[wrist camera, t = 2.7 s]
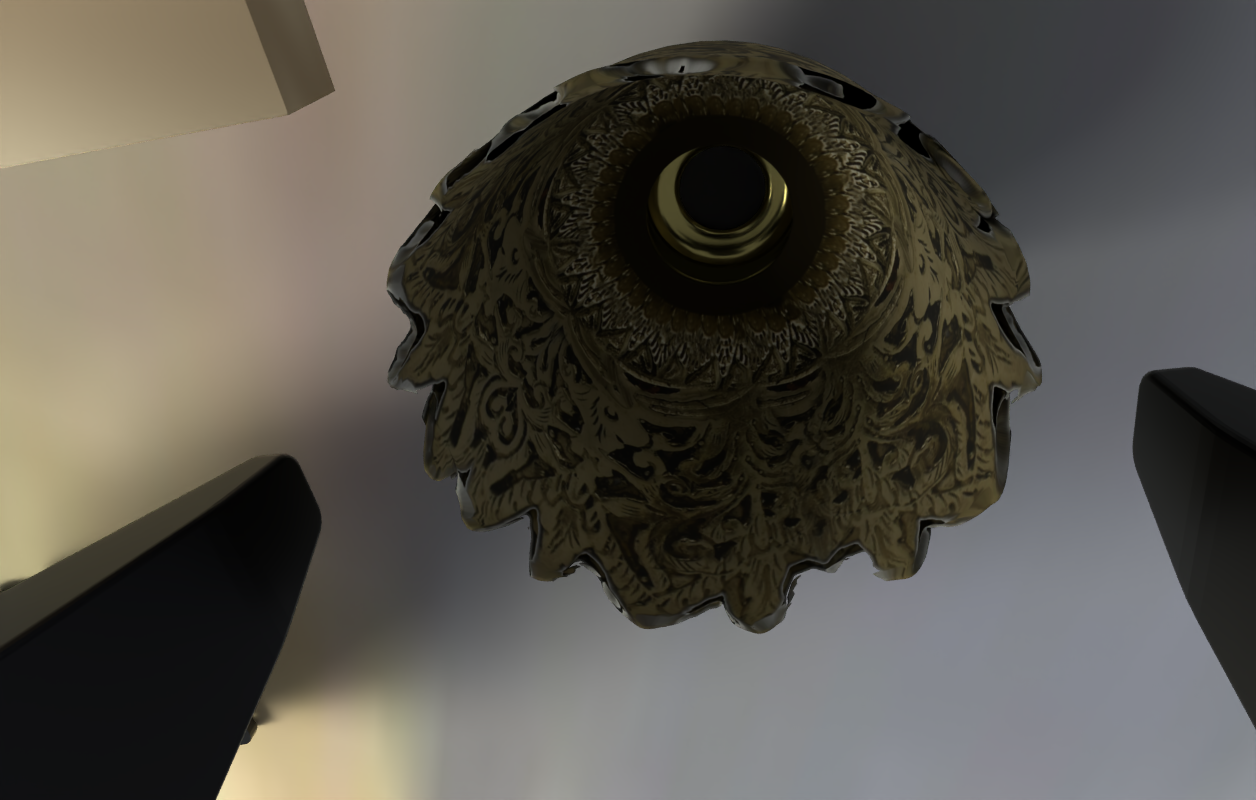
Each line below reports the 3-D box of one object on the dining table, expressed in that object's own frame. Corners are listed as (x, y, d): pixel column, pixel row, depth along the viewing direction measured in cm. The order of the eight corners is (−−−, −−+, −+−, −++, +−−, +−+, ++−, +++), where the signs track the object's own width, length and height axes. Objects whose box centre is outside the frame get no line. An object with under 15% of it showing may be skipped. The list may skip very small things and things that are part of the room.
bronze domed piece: (818, -122, 14) (873, -115, 7) (984, 258, 17) (1136, 521, 10) (459, 115, 17) (252, 285, 10) (654, 407, 19) (597, 693, 13)
